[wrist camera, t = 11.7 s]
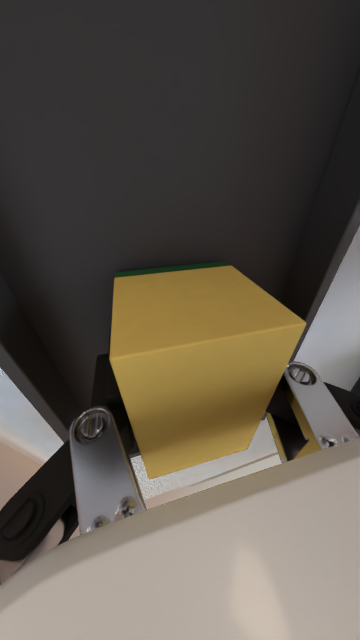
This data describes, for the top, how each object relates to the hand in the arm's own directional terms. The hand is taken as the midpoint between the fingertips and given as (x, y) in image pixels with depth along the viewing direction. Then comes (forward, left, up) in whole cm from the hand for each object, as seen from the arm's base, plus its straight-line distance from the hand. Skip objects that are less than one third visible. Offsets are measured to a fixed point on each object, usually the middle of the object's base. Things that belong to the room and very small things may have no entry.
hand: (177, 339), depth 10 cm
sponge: (0, 0, 0) cm, 0 cm away
